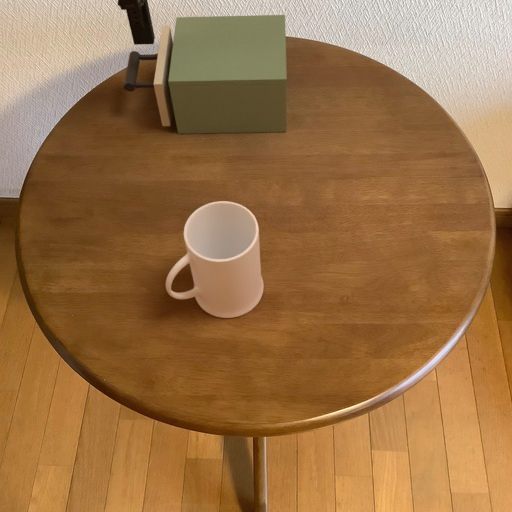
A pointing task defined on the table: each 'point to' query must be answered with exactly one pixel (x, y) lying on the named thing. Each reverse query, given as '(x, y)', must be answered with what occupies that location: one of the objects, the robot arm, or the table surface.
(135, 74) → the drawer
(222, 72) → the cabinet
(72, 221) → the table surface
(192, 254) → the mug
